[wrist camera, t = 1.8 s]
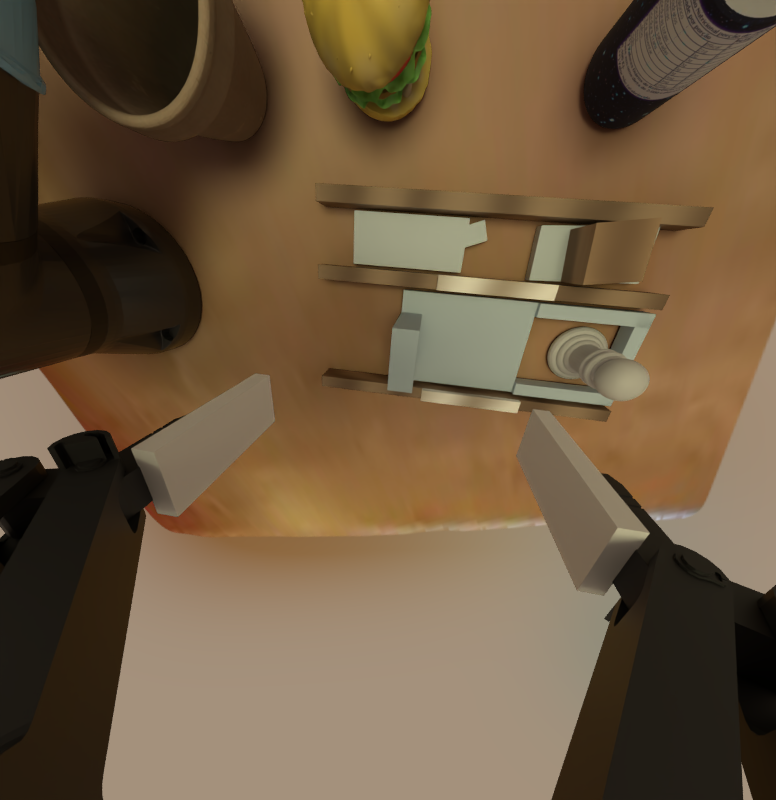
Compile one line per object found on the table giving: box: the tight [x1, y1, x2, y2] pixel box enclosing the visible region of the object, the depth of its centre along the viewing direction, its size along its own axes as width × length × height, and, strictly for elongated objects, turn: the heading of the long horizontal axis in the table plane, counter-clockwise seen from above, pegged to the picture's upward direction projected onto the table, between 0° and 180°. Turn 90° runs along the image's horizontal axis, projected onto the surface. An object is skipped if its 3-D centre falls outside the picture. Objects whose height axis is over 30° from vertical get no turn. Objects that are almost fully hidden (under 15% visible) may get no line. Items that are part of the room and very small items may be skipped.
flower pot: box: [35, 0, 267, 142], centre depth 18 cm, size 12×11×10 cm
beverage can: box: [584, 0, 776, 129], centre depth 14 cm, size 6×6×12 cm
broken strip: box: [354, 210, 660, 284], centre depth 24 cm, size 25×5×1 cm, turn 85°
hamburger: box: [302, 0, 432, 121], centre depth 16 cm, size 8×7×12 cm
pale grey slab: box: [387, 289, 656, 406], centre depth 24 cm, size 22×9×9 cm, turn 85°
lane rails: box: [315, 183, 714, 422], centre depth 26 cm, size 30×18×3 cm, turn 85°
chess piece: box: [547, 327, 650, 401], centre depth 24 cm, size 5×5×9 cm
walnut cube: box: [561, 217, 662, 285], centre depth 21 cm, size 4×4×4 cm
